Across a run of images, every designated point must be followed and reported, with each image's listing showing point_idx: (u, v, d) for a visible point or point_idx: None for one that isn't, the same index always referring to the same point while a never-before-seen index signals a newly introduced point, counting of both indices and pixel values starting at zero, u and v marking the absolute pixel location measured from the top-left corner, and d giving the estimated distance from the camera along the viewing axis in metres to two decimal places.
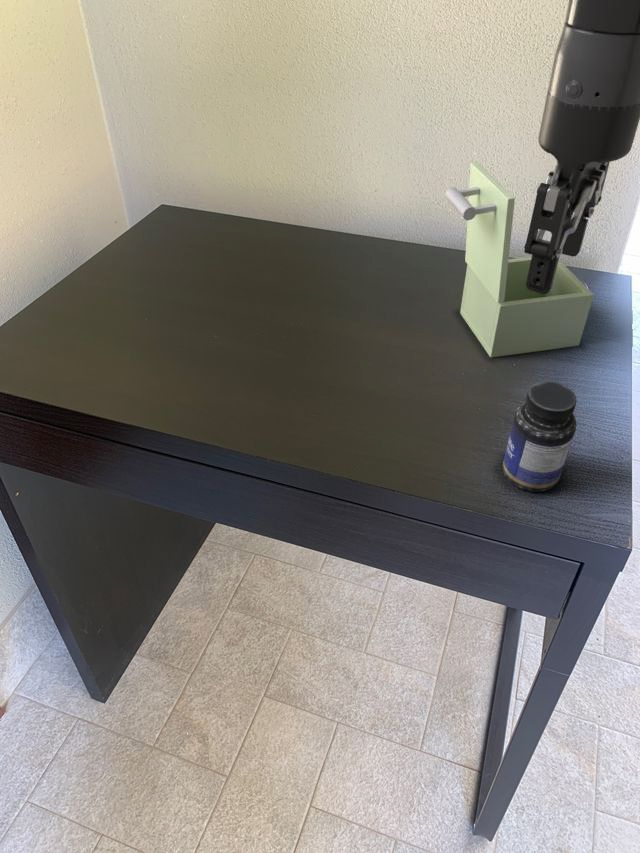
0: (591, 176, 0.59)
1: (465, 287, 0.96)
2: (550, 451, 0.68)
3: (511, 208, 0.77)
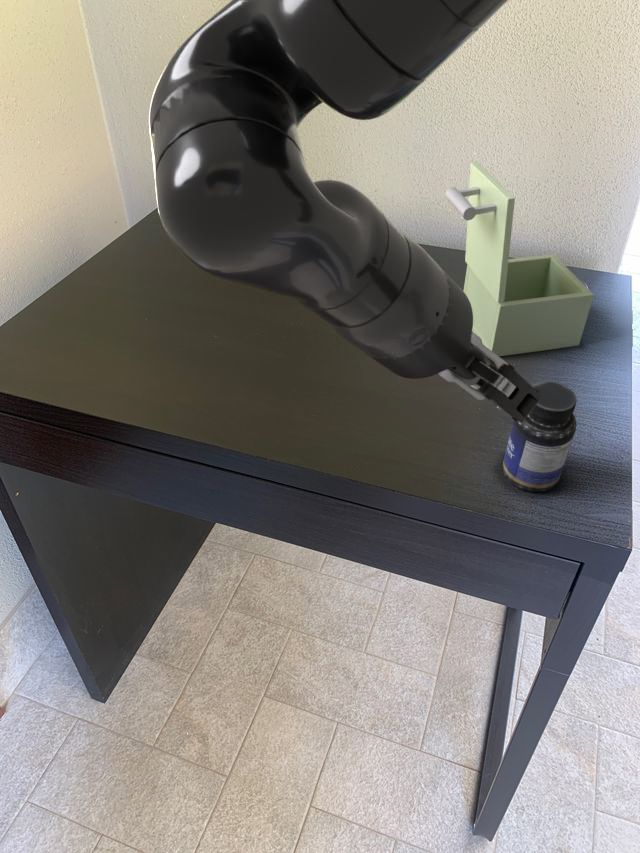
0: None
1: (465, 287, 0.96)
2: (550, 451, 0.68)
3: (511, 208, 0.77)
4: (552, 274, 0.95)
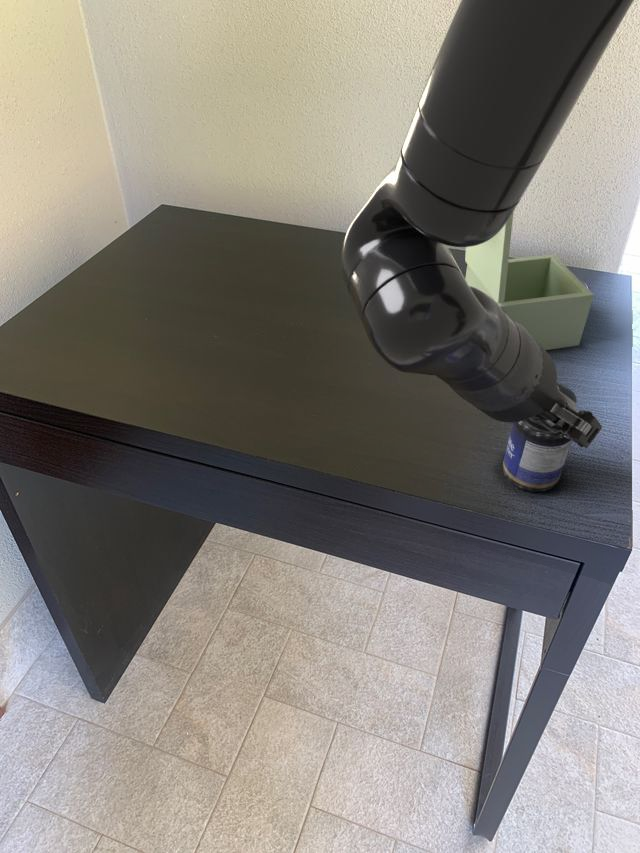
0: None
1: None
2: (550, 451, 0.68)
3: None
4: (552, 274, 0.95)
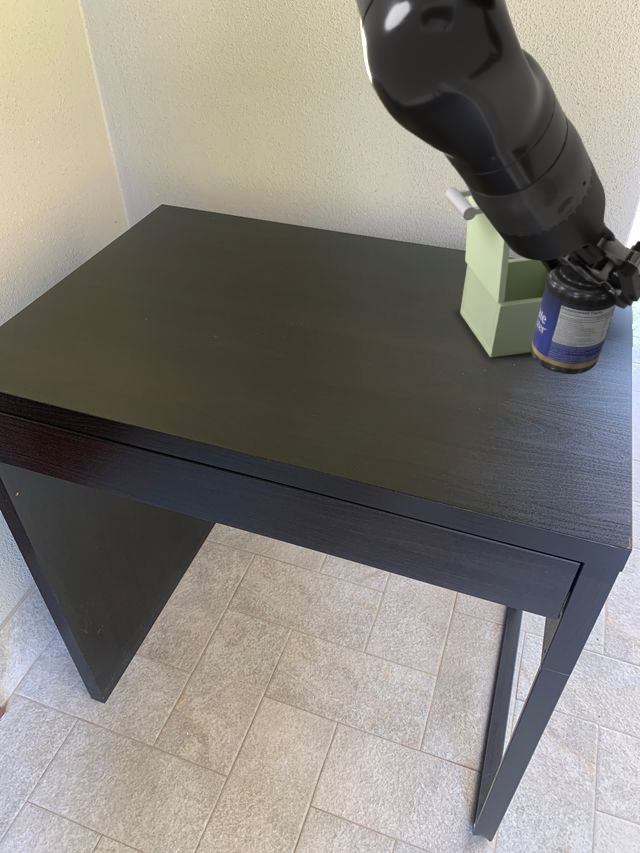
0: None
1: (465, 287, 0.96)
2: (590, 317, 0.58)
3: None
4: None
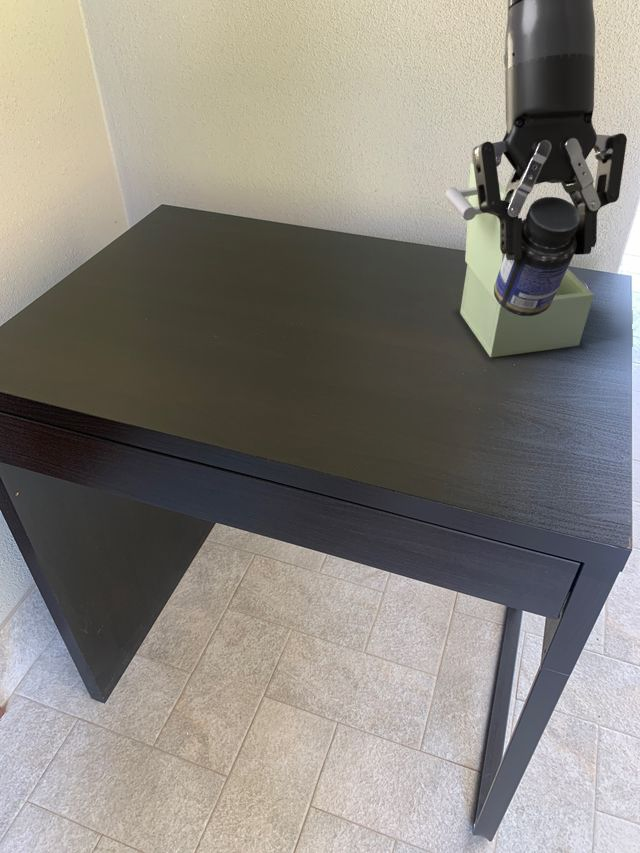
0: (560, 144, 0.61)
1: (465, 287, 0.96)
2: None
3: None
4: None
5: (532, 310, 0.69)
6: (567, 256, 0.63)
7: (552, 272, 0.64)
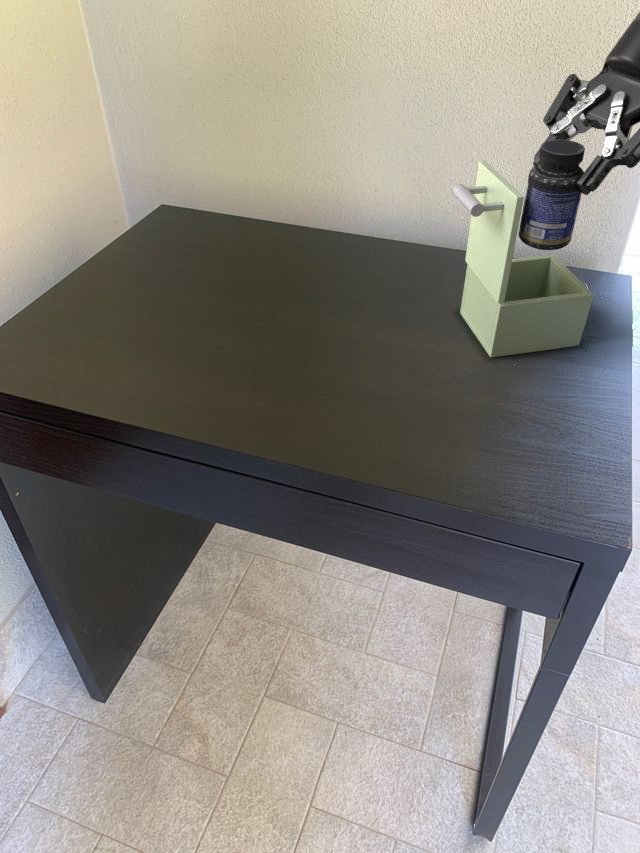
0: None
1: (465, 287, 0.96)
2: None
3: (519, 207, 0.77)
4: (552, 274, 0.95)
5: (541, 241, 0.79)
6: (567, 183, 0.74)
7: (553, 197, 0.75)
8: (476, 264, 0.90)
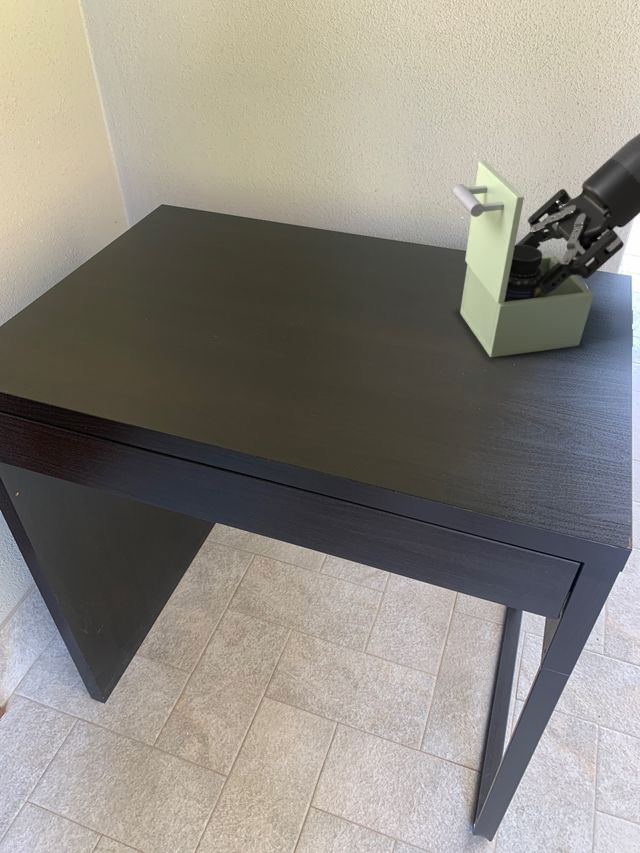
0: None
1: (465, 287, 0.96)
2: None
3: (519, 207, 0.77)
4: None
5: None
6: (519, 284, 0.87)
7: (508, 292, 0.89)
8: (476, 264, 0.90)
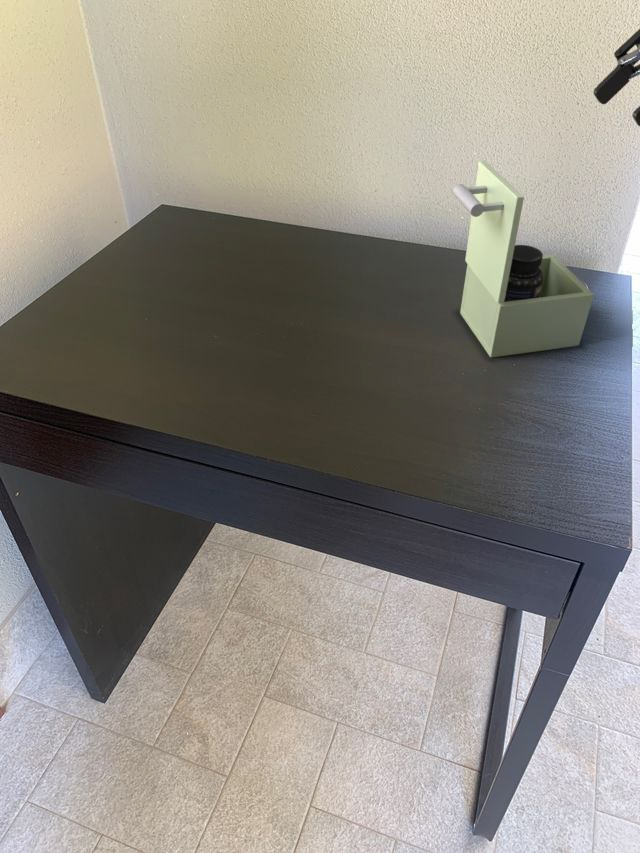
0: None
1: (465, 287, 0.96)
2: None
3: (519, 207, 0.77)
4: (552, 274, 0.95)
5: None
6: (520, 284, 0.87)
7: (508, 292, 0.89)
8: (476, 264, 0.90)
